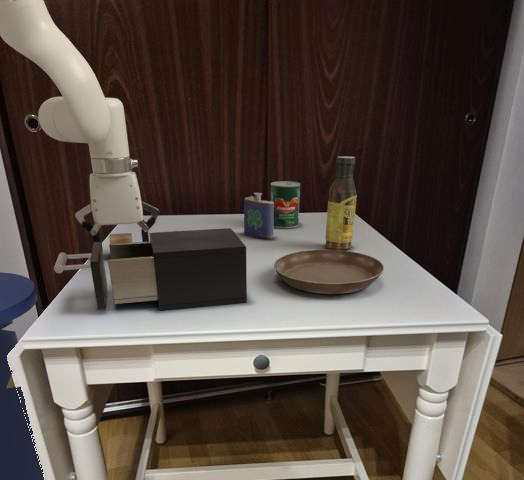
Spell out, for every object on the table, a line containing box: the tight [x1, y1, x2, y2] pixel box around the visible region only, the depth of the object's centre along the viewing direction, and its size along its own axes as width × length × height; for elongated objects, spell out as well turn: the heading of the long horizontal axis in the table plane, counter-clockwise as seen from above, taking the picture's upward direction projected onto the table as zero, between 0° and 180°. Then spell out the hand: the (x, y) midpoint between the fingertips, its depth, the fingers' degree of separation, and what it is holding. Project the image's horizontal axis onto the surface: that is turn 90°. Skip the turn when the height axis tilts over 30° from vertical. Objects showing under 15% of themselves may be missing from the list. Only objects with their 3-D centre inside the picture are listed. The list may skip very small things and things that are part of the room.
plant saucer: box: [273, 249, 385, 295], centre depth 92 cm, size 21×21×3 cm
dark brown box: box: [148, 227, 248, 312], centre depth 84 cm, size 15×13×10 cm
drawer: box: [53, 240, 158, 310], centre depth 81 cm, size 19×12×8 cm, turn 105°
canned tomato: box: [270, 180, 301, 229], centre depth 130 cm, size 8×8×11 cm
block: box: [109, 232, 134, 244], centre depth 105 cm, size 5×5×5 cm
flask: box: [243, 192, 275, 241], centre depth 119 cm, size 9×3×11 cm, turn 49°
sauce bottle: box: [325, 155, 358, 251], centre depth 109 cm, size 7×6×20 cm
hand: (123, 250), depth 105 cm, fingers open, 9 cm apart
